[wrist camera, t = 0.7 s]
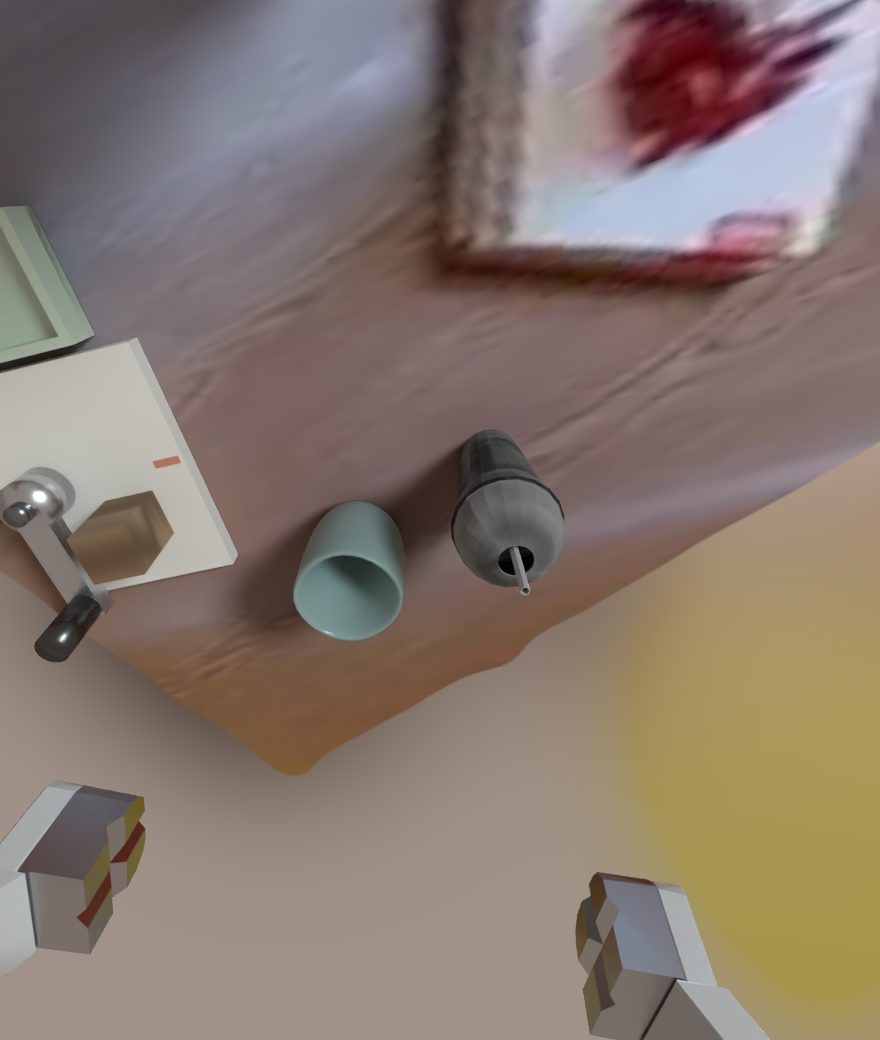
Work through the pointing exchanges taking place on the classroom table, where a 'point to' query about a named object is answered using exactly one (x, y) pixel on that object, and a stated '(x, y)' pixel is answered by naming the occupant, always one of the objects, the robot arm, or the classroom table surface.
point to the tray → (34, 291)
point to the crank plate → (111, 448)
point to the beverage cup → (504, 514)
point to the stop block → (121, 538)
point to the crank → (54, 555)
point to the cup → (351, 572)
